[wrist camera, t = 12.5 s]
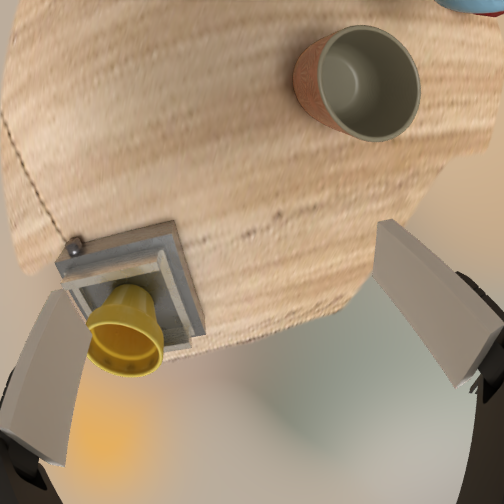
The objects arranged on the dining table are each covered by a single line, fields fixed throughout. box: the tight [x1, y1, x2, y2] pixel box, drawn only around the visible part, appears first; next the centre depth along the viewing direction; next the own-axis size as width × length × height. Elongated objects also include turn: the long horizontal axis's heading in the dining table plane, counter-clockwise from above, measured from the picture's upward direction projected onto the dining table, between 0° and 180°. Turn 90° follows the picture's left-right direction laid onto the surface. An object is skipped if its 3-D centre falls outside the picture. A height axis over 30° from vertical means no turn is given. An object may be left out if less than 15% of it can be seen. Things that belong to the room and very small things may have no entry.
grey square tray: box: [55, 220, 206, 352], centre depth 38 cm, size 19×18×8 cm
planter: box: [293, 25, 421, 142], centre depth 26 cm, size 12×12×11 cm
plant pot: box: [86, 284, 164, 377], centre depth 34 cm, size 10×10×10 cm
